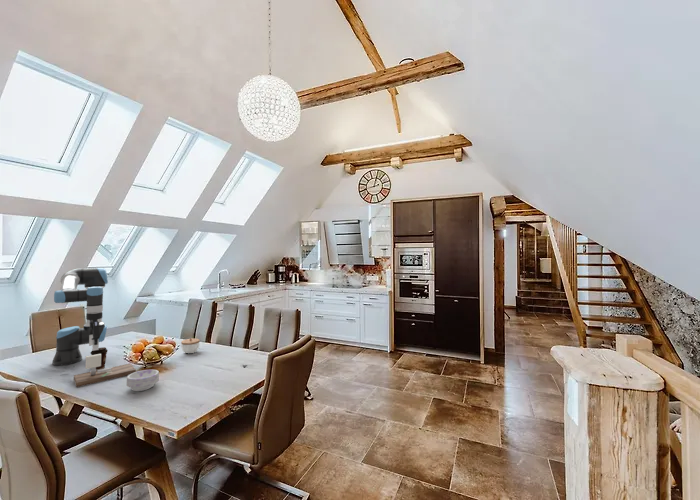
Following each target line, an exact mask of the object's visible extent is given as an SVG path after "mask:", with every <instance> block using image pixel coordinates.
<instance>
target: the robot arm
mask: <svg viewBox="0 0 700 500" xmlns="http://www.w3.org/2000/svg"><path fill="white" fill-rule="evenodd" d="M108 281H109V280H108V275H107V270H106V269H105V268H103V267H91V268H90V267H89V268H87V267H85V268H84V267H83V268H81V267H80V268H75V269H70V270H69V271H67V272H65V273H63V275H62V276H61V278H60V283H61V285H60V289H59V290H55V291H54V294H53V301H54V304H67V303H68V304H69V303H81V302H86V307H85V308H84V309H85V310H86V315H85V317H86V318H85V319H86V321H85V322H86V323H84V324H83V327H80V326H79V325H75V326H69V327H65V328H61V329H59V330H58V331H57V332H56V338H55V339H56V343H55V344H56V345H55V346H56V347H55V348H56V349H55V351H56V352H55V353H54V354H55V355H54V357H53V359H52V364H51V365H52V366H66V365H67V366H68V365H71V364H75V363H78V362H81V361H82V360H83V355H82V353H81V351H80V346H82V345H88V346H92V347H91V349H92V350H91V351H94V350H99V348H100V347H99V345H100V343H102V342H104V341H105V339H106V335H107V330H108V329H107V327H108V326H107V325H106V324H105V322H104V321H103V310H104V309H103V307H104V303H103V302H104V301H103V299H104V298H103V297H104V288H105V287H106V285H107V284H108V283H109V282H108ZM78 285H79V286H81V285H84V288H83V289H77V287H78Z"/></svg>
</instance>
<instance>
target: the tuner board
mask: <svg viewBox="0 0 700 500" xmlns="http://www.w3.org/2000/svg"><path fill="white" fill-rule="evenodd" d="M111 367H112V370H110V371H105V372H100V373H97V370H96V374H95V375H91V371H88V372H82V373H78V374H73V381H74V384H75V386H76V387H75V388H80V387H84V386H87V385H92V384H96V383H101V382H105V381H110V380H114V379H117V378H118V379H119V378H122V377H125V376H126V377H127V376H128V375H130V374H132V373H134V372H137V369H136V368H135V367H134V366H133V365H132V364H131V363H126V364H121V365H116V366H111ZM107 368H108V367H105V369H107ZM100 370H102V369H100Z"/></svg>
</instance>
